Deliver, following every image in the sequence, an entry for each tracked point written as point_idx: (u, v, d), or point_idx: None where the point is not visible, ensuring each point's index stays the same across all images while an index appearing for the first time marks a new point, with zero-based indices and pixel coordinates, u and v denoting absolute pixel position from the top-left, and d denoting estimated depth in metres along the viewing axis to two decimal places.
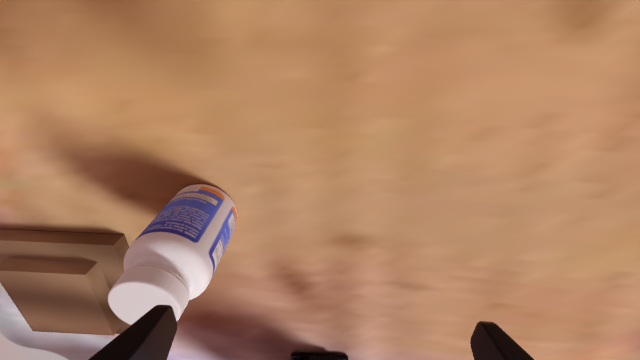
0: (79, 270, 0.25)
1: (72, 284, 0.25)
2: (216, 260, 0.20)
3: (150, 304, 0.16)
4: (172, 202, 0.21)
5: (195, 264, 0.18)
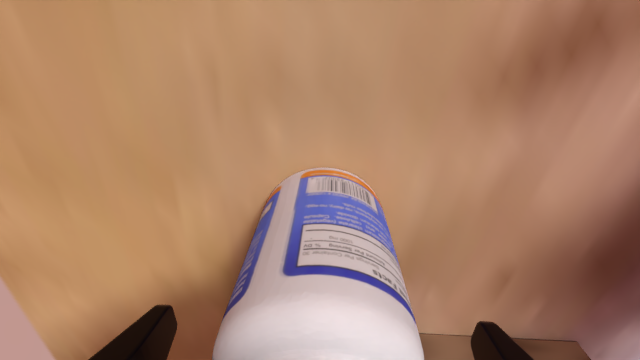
0: None
1: None
2: (331, 255, 0.07)
3: None
4: None
5: (268, 329, 0.06)
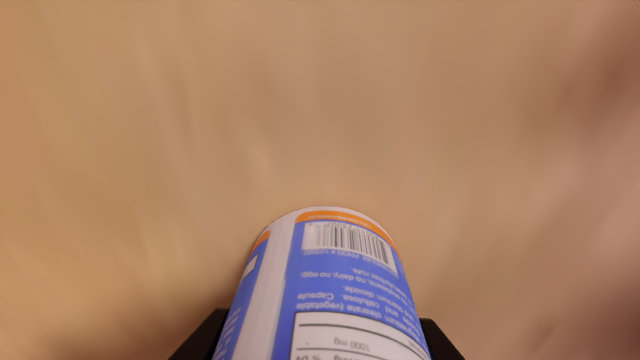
0: None
1: None
2: None
3: None
4: None
5: None
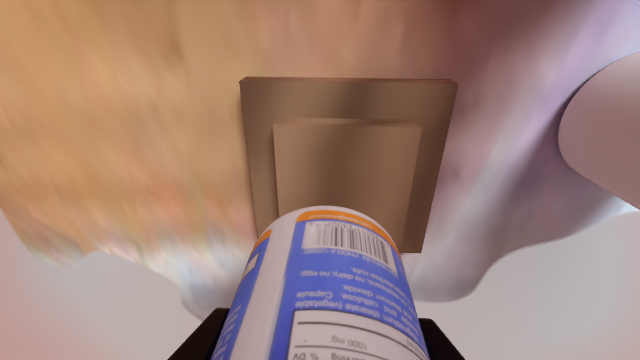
0: None
1: (296, 151, 0.17)
2: None
3: None
4: None
5: None
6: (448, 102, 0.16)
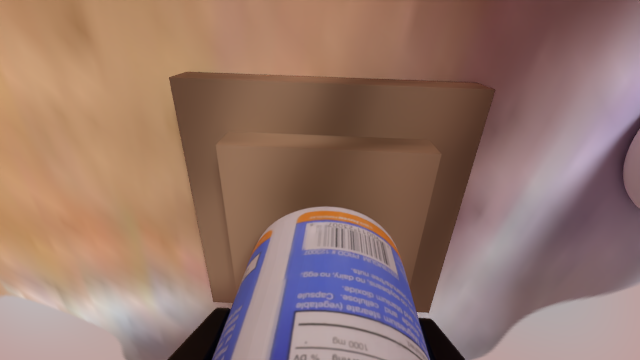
0: None
1: (254, 184, 0.11)
2: None
3: None
4: None
5: None
6: (479, 116, 0.11)
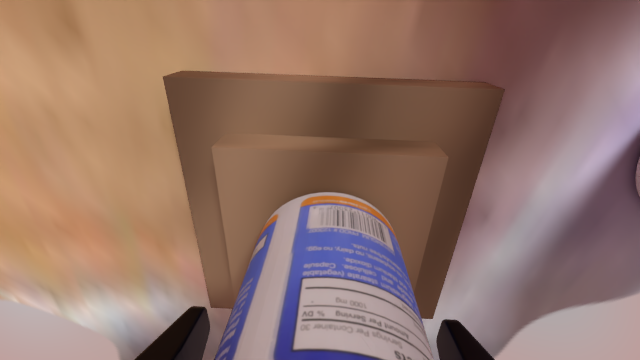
0: None
1: (252, 188, 0.11)
2: (338, 332, 0.06)
3: None
4: None
5: None
6: (487, 117, 0.11)
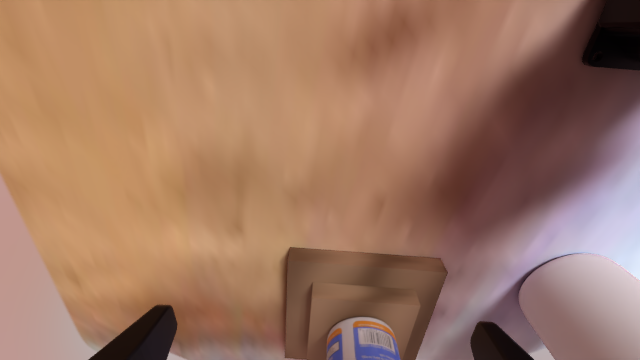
0: (311, 300, 0.22)
1: (327, 313, 0.22)
2: None
3: None
4: None
5: None
6: (440, 281, 0.22)
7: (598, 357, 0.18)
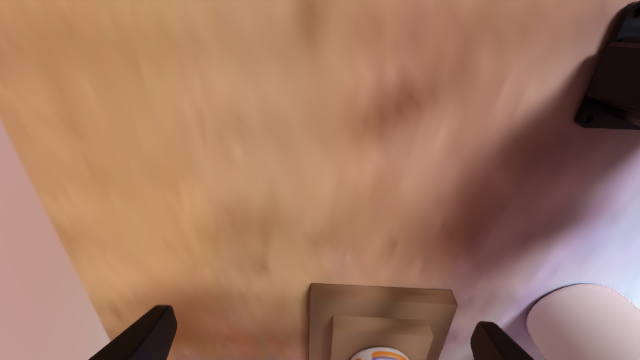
0: (332, 333, 0.24)
1: (347, 344, 0.24)
2: None
3: None
4: None
5: None
6: (451, 313, 0.24)
7: None
